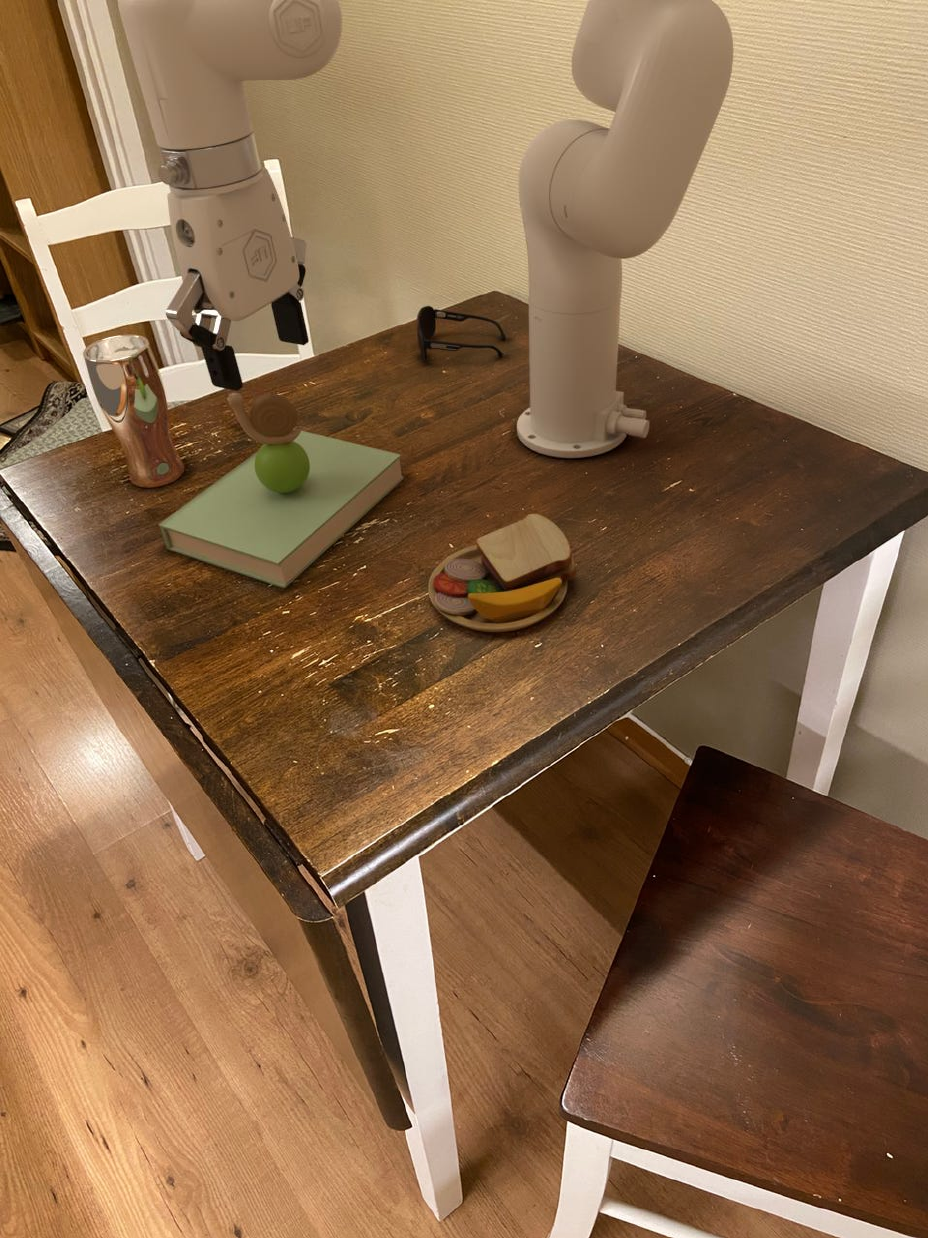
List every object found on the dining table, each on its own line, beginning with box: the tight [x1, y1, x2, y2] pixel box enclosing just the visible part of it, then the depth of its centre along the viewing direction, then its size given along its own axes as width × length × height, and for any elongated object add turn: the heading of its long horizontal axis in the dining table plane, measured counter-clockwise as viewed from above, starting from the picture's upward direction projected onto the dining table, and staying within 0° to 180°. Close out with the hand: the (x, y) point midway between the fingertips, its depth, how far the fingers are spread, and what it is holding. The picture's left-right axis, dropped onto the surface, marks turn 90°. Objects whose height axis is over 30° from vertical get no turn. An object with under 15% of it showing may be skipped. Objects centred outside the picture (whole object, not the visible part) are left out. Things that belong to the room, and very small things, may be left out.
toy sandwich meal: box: [427, 513, 577, 633], centre depth 78 cm, size 12×14×5 cm
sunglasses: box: [416, 305, 506, 361], centre depth 119 cm, size 10×12×5 cm
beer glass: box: [82, 333, 185, 489], centre depth 95 cm, size 7×7×15 cm
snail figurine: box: [223, 388, 310, 493], centre depth 86 cm, size 5×6×12 cm
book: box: [158, 428, 405, 589], centre depth 91 cm, size 15×21×3 cm
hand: (262, 363), depth 82 cm, fingers open, 9 cm apart
